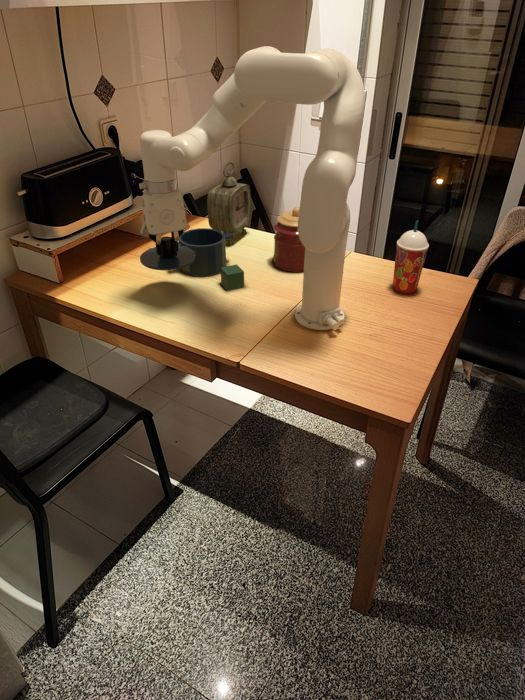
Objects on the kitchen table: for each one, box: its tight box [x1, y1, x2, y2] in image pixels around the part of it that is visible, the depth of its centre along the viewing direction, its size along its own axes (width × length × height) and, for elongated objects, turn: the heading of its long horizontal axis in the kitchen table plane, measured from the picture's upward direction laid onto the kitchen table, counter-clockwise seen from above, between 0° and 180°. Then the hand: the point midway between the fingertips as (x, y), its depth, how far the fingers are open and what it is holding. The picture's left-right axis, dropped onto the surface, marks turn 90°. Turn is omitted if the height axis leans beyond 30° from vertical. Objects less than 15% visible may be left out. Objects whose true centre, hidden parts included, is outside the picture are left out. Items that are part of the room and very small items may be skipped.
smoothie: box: [392, 220, 430, 294], centre depth 141 cm, size 8×8×20 cm
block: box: [220, 264, 245, 292], centre depth 146 cm, size 5×5×5 cm
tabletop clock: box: [206, 161, 252, 246], centre depth 169 cm, size 14×9×25 cm, turn 155°
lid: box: [139, 235, 196, 271], centre depth 136 cm, size 15×15×6 cm
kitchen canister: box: [273, 206, 305, 273], centre depth 155 cm, size 13×13×18 cm
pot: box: [178, 227, 234, 278], centre depth 155 cm, size 14×19×10 cm
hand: (167, 254), depth 137 cm, fingers closed on lid, 2 cm apart
